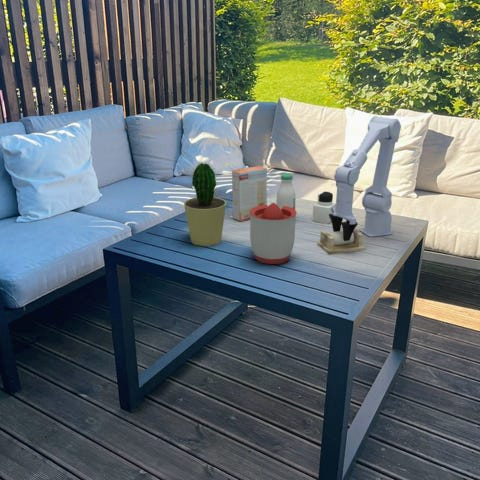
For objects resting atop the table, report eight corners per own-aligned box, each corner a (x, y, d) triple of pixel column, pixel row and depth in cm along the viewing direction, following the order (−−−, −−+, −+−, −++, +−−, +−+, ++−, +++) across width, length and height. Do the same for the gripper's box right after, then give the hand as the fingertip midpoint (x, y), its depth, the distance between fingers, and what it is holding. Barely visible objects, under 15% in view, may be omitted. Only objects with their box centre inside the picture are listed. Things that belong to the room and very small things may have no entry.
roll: (346, 239, 187) (348, 227, 185) (352, 246, 183) (355, 234, 181) (326, 241, 185) (328, 229, 182) (332, 248, 181) (334, 236, 178)
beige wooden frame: (317, 244, 187) (317, 230, 185) (351, 239, 191) (352, 226, 189) (329, 254, 178) (330, 239, 176) (364, 249, 182) (366, 235, 180)
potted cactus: (235, 240, 191) (235, 161, 179) (205, 251, 180) (203, 168, 169) (207, 230, 200) (205, 154, 189) (177, 240, 190) (173, 161, 179)
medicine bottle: (335, 219, 212) (337, 191, 208) (328, 224, 206) (330, 196, 202) (319, 216, 216) (321, 189, 211) (312, 221, 210) (313, 193, 206)
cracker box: (258, 212, 221) (259, 165, 213) (267, 216, 216) (268, 167, 208) (231, 218, 213) (231, 169, 206) (239, 222, 209) (239, 172, 201)
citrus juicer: (296, 249, 183) (298, 195, 175) (292, 269, 167) (295, 211, 159) (253, 246, 185) (254, 193, 178) (245, 265, 169) (246, 208, 162)
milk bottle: (289, 226, 204) (291, 178, 197) (272, 223, 208) (273, 175, 201) (297, 221, 210) (299, 173, 203) (281, 217, 214) (282, 171, 207)
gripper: (324, 195, 183) (322, 231, 188) (344, 207, 170) (341, 245, 175) (342, 194, 185) (339, 229, 190) (362, 205, 172) (359, 242, 177)
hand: (341, 236), depth 183 cm, fingers open, 7 cm apart
